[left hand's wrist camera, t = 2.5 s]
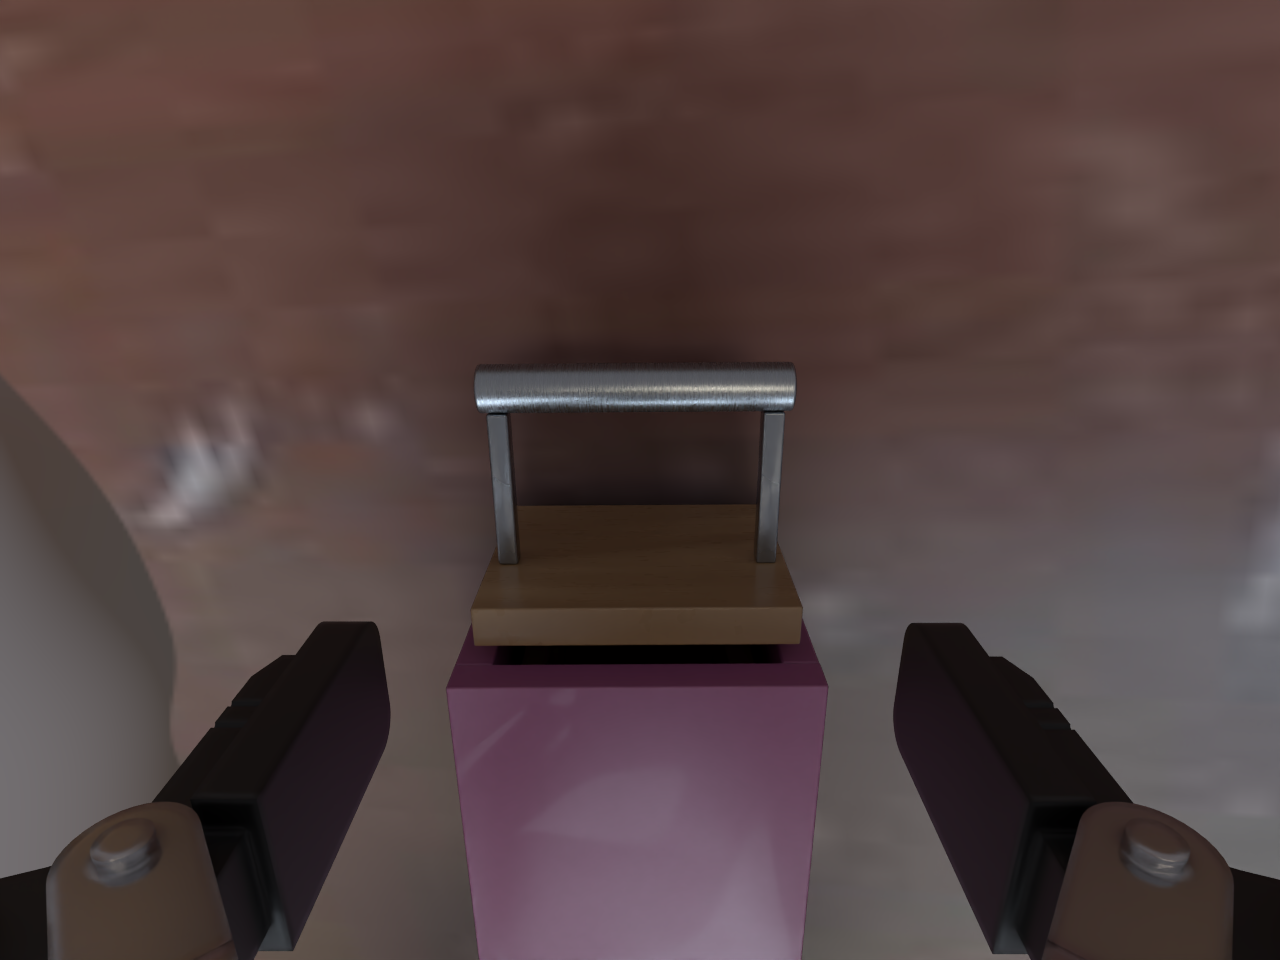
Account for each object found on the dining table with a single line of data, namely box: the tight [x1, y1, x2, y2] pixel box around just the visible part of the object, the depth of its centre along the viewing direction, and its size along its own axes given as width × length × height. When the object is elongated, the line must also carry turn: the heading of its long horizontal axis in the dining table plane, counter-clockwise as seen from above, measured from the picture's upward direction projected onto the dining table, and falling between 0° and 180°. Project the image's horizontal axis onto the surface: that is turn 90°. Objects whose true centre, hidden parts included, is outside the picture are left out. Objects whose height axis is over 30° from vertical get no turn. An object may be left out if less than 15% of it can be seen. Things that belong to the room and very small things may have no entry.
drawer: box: [471, 362, 803, 665], centre depth 26 cm, size 26×9×7 cm, turn 0°
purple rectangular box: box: [446, 619, 828, 960], centre depth 28 cm, size 21×10×9 cm, turn 0°
